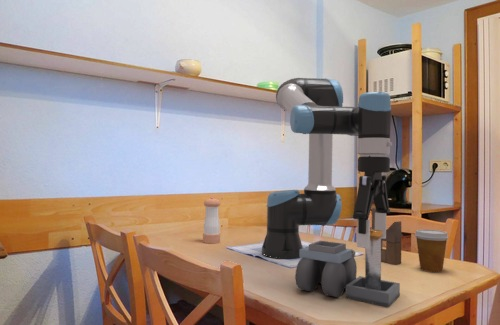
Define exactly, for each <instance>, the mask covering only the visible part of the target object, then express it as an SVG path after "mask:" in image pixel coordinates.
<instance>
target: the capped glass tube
mask: <svg viewBox="0 0 500 325" xmlns="http://www.w3.org/2000/svg"><path fill="white" fill-rule="evenodd" d="M382 236H383V231H382V230H375V229H372V228H370V248H369V249H368V248H364V249H365V251H364V252H365V255H364V257H365V258H364V259H365V260H364V261H365V262H364V263H365V265H364V266H365V267H364V269H365V270H364V272H365V276H364V277H365V288H368V289H374V290H379V291H381V280H382V261H381V237H382Z"/></svg>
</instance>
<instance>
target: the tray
mask: <svg viewBox="0 0 500 325" xmlns="http://www.w3.org/2000/svg"><path fill="white" fill-rule="evenodd" d="M400 285H401V284H400V282H395V281H390V280H384V279H381V291H379V290H374V289H368V288H365V276H358V277H356V279H355V280H353V281H352V282H350V283H349V284H347V285H346V288H345V299H349V300H353V301H358V302H363V303H367V304H372V305H377V306H381V307H386V308H390V307H391V305H392V304H393V303H394V302H395V301H396V300H397V299H398V298H399V297H400V287H401V286H400Z"/></svg>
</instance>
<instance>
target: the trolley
mask: <svg viewBox="0 0 500 325" xmlns="http://www.w3.org/2000/svg"><path fill="white" fill-rule="evenodd" d="M346 247H347V244H346V243H343V242H335V241H328V240H327V241H326V240H317V241H315V242H311V243H310V244H309V243H308V246H305V247H303V248H302V249H300V251H299V257H298V258H300V260H299V261H298V263H297V265H296V268H295V284H296V287H297V289H299V290H301V291H306V292H311V293H312V292H315V290H316V289H317V288H318V284H321V289H322V292H323V294H324V295H325V296H330V297H334V298H340V297H341V296H342V295H343V294H344V290H345V289H346V285H347V284H349V283H350V282H352V281H353V280H355V279H356V278H357V261H356V259H355V257H354V258H353V257H352V250H353V249H351V250H348V249H349V248H346Z"/></svg>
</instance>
